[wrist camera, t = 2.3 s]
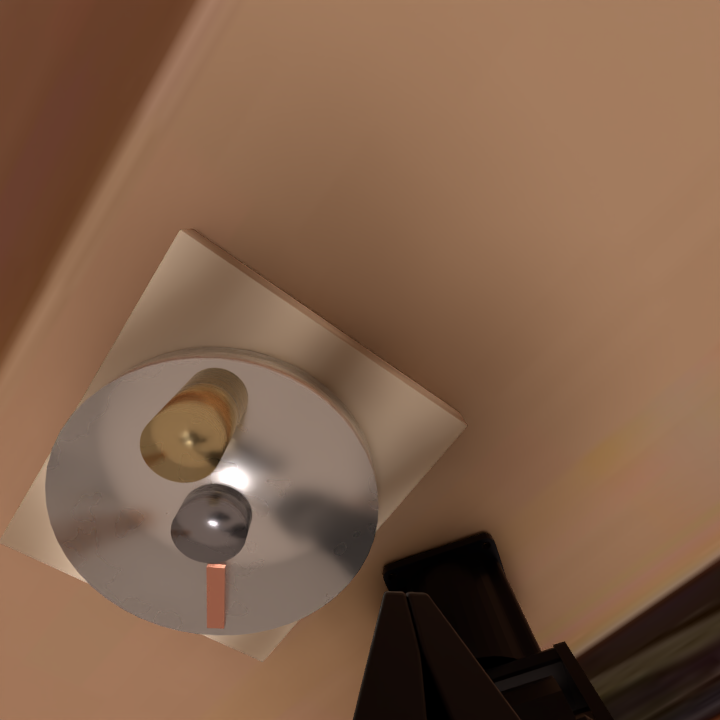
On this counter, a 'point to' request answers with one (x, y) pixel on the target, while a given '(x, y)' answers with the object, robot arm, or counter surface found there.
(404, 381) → the base plate
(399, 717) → the robot arm
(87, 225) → the counter surface
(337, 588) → the handwheel
